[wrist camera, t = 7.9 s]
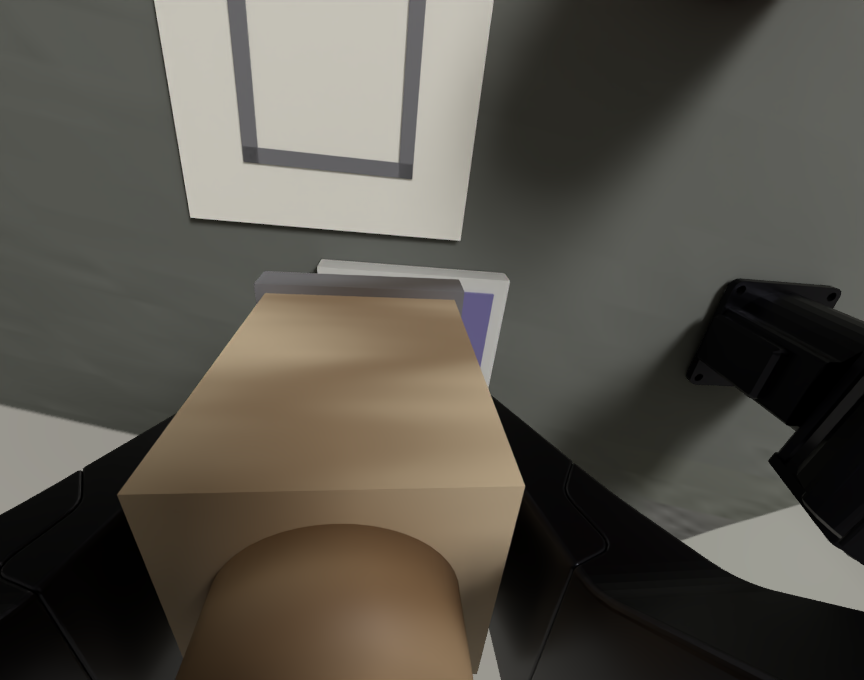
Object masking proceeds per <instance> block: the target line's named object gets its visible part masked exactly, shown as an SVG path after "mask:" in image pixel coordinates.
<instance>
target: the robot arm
mask: <svg viewBox="0 0 864 680" xmlns="http://www.w3.org/2000/svg"><path fill="white" fill-rule="evenodd" d="M739 287H740V288H739ZM738 288H739V290H738V291H737V289H738ZM840 296H841V291H840V289H837V288H835V287H832V286H826V285H814V284H801V283H789V282H777V281H764V280H752V279H735V280H733V281H732V282H731V283H730V284H729V285H728V287H727V289H726V291H725V293H724V295H723V297H722V299H721V301H720V303H719V306H718V308H717V310H716V312H715V314H714V316H713V318H712V321H711V323H710V325H709V327H708V329H707V331H706V333H705V335H704V338H703V340H702V342H701V344H700V346H699V348H698V350H697V352H696V355H695V357H694V359H693V361H692V363H691V365H690V367H689V370H688V372H687V374H686V378H687V379H688V380H689V381H690V382H691V383H692V384H696V385H719V386H735V387H736V388H737V389H739V390H740V391H741V392H743V393H744V394H745V395H746V396H748V397H749V398H751V399H753V400H754V401H756V402H757V403H758V404H760V405H761V406H762V407H764V408H765V409H766V410H768V411H769V412H770V413H771V414H773V415H774V416H775V417H777V418H778V419H779V420H781V421H782V422H783V423H785V424H786V425H788V426H790V427H791V428H792V429H794V430H795V431H796V432H795V433H794V434H793V435H792V436H791V437H790V439H789V440H788V441H787V442H786V443H785V445H784V446H783V447H782V448H781V449H780V451H779V452H775V453H774V454H773V455H772V457H771V458H770V459H769V460H768V462H769V463H770V464H771V466H772V467H773V468H774V470H775V471H776V472H777V474H778V475H779V476H780V478H781V479H782V481H783V482H784V483H785V484H786V486H787V487H788V488H789V490H790V491H791V492H792V494H793V495H794V496H795V497H796V499H797V500H798V501H799V503H800V504H801V505H802V507H803V508H804V509H805V511H806V512H807V513H808V514H809V516H810V517H811V519H812V520H813V521H814V523H815V524H816V525H817V526H818V527H819V529H820V530H821V531H822V533H823V534H824V535H825V537H826V538H827V539H828V540H829V541H830V543H832V544H833V545H834V546H836V547H837V548H839V549H841V550H843V551H844V552H845V553H846V554H847V555H848V556H850V557H851V558H853V559H855V560H857V561H858V562H860V563H861V564H863V565H864V321H862V320H859V319H857V318H854V317H852V316H849V315H847V314H845V313H842V312H840V311H837V310H835V309H833V308H834V306H835V304H836V303H837V301H838V299H839V298H840ZM696 375H697V376H696ZM695 376H696V377H695ZM491 397H492V400H493V403H494V405H495V408H496V410H497V413H498V416H499V418H500V421H501V424H502V426H503V429H504V432H505V434H506V437H507V439H508V442H509V445H510V447H511V450H512V453H513V455H514V458H515V461H516V463H517V466H518V468H519V471H520V474H521V476H522V479H523V482H524V484H525V489H524V493H523V497H522V501H521V505H520V508H519V512H518V516H517V520H516V524H515V528H514V532H513V536H512V540H511V543H510V547H509V551H508V555H507V559H506V563H505V567H504V571H503V574H502V578H501V582H500V586H499V590H498V594H497V598H496V602H495V605H494V609H493V613H492V617H491V621H490V625H489V630H490V634H491V638H492V643H493V647H494V652H495V655H496V660H497V664H498V669H499V673H500V677H501V680H864V612H863V611H859V610H855V609H850V608H846V607H842V606H837V605H833V604H829V603H825V602H821V601H816V600H812V599H808V598H803V597H799V596H795V595H790V594H786V593H782V592H778V591H774V590H770V589H767V588H763V587H761V586H758V585H755V584H752V583H750V582H747V581H745V580H743V579H741V578H738V577H736V576H734V575H732V574H730V573H729V572H727V571H725V570H723V569H721V568H720V567H718V566H717V565H715V564H714V563H712V562H710V561H709V560H708V559H706V558H705V557H703V556H701V555H700V554H699V553H697V552H696V551H695V550H693V549H692V548H690V547H689V546H687V545H686V544H684V543H683V542H682V541H680V540H679V539H677V538H676V537H674V536H673V535H671V534H670V533H669V532H667V531H666V530H664V529H663V528H661V527H660V526H658V525H657V524H656V523H654V522H653V521H651V520H650V519H648V518H647V517H645V516H644V515H643V514H641V513H640V512H638V511H637V510H635V509H634V508H633V507H631V506H630V505H629V504H627V503H626V502H624V501H623V500H622V499H620V498H619V497H617V496H616V495H615V494H613V493H612V492H611V491H609V490H608V489H607V488H605V487H604V486H603V485H602V484H600V483H599V482H598V481H596V480H595V479H594V478H593V477H591V476H590V475H589V474H588V473H586V472H585V471H584V470H583V469H581V468H580V467H579V466H578V465H576V464H575V463H573V464H572V461H571V460H570V459H569V458H568V457H566V456H565V455H564V454H563V453H562V452H560V451H559V450H558V449H557V448H555V447H554V446H553V445H552V444H551V443H549V442H548V441H547V440H546V439H544V438H543V437H542V436H541V435H540V434H538V433H537V432H536V431H535V430H533V429H532V428H531V427H530V426H528V425H527V424H526V423H525V422H524V421H522V420H521V419H520V418H519V417H517V416H516V415H515V414H514V413H513V412H511V411H510V410H509V409H508V408H506V407H505V406H504V405H503V404H501V403H500V402H499V401H498V400H497V399H495V398H494V397H493V396H492V395H491ZM176 414H177V413H176ZM176 414H174V415H173V416H171V417H169V418H168V419H166V420H164V421H162V422H161V423H159V424H157V425H156V426H154V427H152V428H150V429H149V430H147V431H145V432H144V433H142V434H140V435H139V436H137V437H135V438H134V439H132V440H130V441H128V442H127V443H125V444H123V445H121V446H120V447H118V448H116V449H115V450H113V451H111V452H110V453H108V454H106V455H104V456H103V457H101V458H99V459H98V460H96V461H94V462H92V463H91V464H89V465H87V466H86V467H84V468H83V471H77V472H75V473H74V474H72V475H70V476H68V477H67V478H65V479H63V480H62V481H60V482H58V483H56V484H55V485H53V486H51V487H50V488H48V489H46V490H44V491H42V492H41V493H39V494H37V495H36V496H34V497H32V498H30V499H28V500H27V501H25V502H23V503H21V504H19V505H18V506H16V507H14V508H12V509H10V510H8V511H6V512H5V513H3V514H1V515H0V680H175V678H176V676H177V673H178V671H179V668H180V665H181V663H182V660H183V656H182V654H181V652H180V649H179V647H178V644H177V642H176V639H175V637H174V634H173V632H172V629H171V627H170V624H169V622H168V619H167V617H166V615H165V612H164V610H163V607H162V605H161V602H160V600H159V597H158V595H157V592H156V590H155V587H154V585H153V582H152V580H151V578H150V575H149V573H148V570H147V568H146V565H145V563H144V560H143V558H142V555H141V553H140V550H139V548H138V545H137V543H136V541H135V538H134V536H133V533H132V531H131V528H130V526H129V523H128V521H127V518H126V516H125V513H124V511H123V508H122V506H121V504H120V501H119V499H118V496H117V494H118V493H119V491H120V490H121V489H122V487H123V486H124V485H125V483H126V482H127V481H128V479H129V478H130V476H131V475H132V474H133V472H134V471H135V470H136V468H137V467H138V466H139V464H140V463H141V461H142V460H143V459H144V457H145V456H146V455H147V453H148V452H149V451H150V449H151V448H152V446H153V445H154V444H155V442H156V441H157V440H158V438H159V437H160V436H161V434H162V433H163V431H164V430H165V429H166V427H167V426H168V425H169V423H170V422H171V421H172V419H173V418H174V416H175V415H176Z"/></svg>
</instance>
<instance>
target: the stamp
mask: <svg viewBox="0 0 864 680" xmlns="http://www.w3.org/2000/svg"><path fill="white" fill-rule="evenodd" d="M254 289H255V297H256V304H257V305H256V306H255V307H254V309H253V310H252V312H251V313H250V314H249V316H248V317H247V318H246V320H245V321H244V322H243V324H242V325H241V327H240V328H239V329H238V331H237V332H236V333H235V335H234V336H233V337H232V339H231V340H230V342H229V343H228V344H227V346H226V347H225V348H224V350H223V351H222V352H221V354H220V355H219V357H218V358H217V359H216V361H215V362H214V363H213V365H212V366H211V367H210V369H209V370H208V372H207V373H206V374H205V376H204V377H203V378H202V380H201V381H200V382H199V384H198V385H197V387H196V388H195V389H194V391H193V392H192V393H191V395H190V396H189V397H188V399H187V400H186V402H185V403H184V404H183V406H182V407H181V408H180V410H179V411H178V412H177V414H176V415H175V416H174V418H173V419H172V421H171V422H170V423H169V425H168V426H167V427H166V429H165V430H164V431H163V433H162V434H161V436H160V437H159V438H158V440H157V441H156V442H155V444H154V445H153V446H152V448H151V449H150V451H149V452H148V453H147V455H146V456H145V457H144V459H143V460H142V461H141V463H140V464H139V466H138V467H137V468H136V470H135V471H134V472H133V474H132V475H131V476H130V478H129V479H128V481H127V482H126V483H125V485H124V486H123V487H122V489H121V490H120V491H119V493H118V494H117V496H118V499H119V501H120V504H121V506H122V508H123V511H124V513H125V516H126V518H127V521H128V523H129V526H130V528H131V531H132V533H133V536H134V538H135V541H136V543H137V545H138V548H139V550H140V553H141V555H142V558H143V560H144V563H145V565H146V568H147V570H148V573H149V575H150V578H151V580H152V582H153V585H154V587H155V590H156V592H157V595H158V597H159V600H160V602H161V605H162V607H163V610H164V612H165V615H166V617H167V619H168V622H169V624H170V627H171V629H172V632H173V634H174V637H175V639H176V642H177V644H178V647H179V649H180V652H181V654H182V656H183V660H182V663H181V665H180V668H179V671H178V673H177V676H176V678H175V680H473V675H472V674H477V671H478V668H479V664H480V660H481V656H482V652H483V648H484V644H485V640H486V637H487V632H488V628H489V625H490V621H491V617H492V613H493V609H494V605H495V602H496V598H497V594H498V590H499V586H500V582H501V578H502V574H503V571H504V567H505V563H506V559H507V555H508V551H509V547H510V543H511V540H512V536H513V532H514V528H515V524H516V520H517V516H518V512H519V508H520V505H521V501H522V497H523V493H524V489H525V484H524V482H523V479H522V476H521V474H520V471H519V468H518V466H517V463H516V461H515V458H514V455H513V453H512V450H511V447H510V445H509V442H508V439H507V437H506V434H505V432H504V429H503V426H502V424H501V421H500V418H499V416H498V413H497V410H496V408H495V405H494V403H493V400H492V397H491V395H490V392H489V389H488V387H487V384H486V381H485V379H484V376H483V374H482V371H481V368H480V366H479V363H478V360H477V358H476V355H475V352H474V350H473V347H472V345H471V342H470V339H469V337H468V334H467V331H466V329H465V326H464V323H463V321H462V318H461V317H462V309H463V300H464V289H463V287H462V285H461V283H460V281H459V279H437V278H413V277H390V276H366V275H342V274H318V273H295V272H271V271H264V272H263V273H262V275H261V276H260V277H259V278H258V279H257V280H256V282H255V283H254Z"/></svg>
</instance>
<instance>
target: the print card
mask: <svg viewBox="0 0 864 680" xmlns="http://www.w3.org/2000/svg"><path fill="white" fill-rule="evenodd" d="M493 2H494V0H154V3H155V9H156V15H157V21H158V27H159V33H160V39H161V45H162V51H163V57H164V63H165V69H166V75H167V81H168V87H169V93H170V99H171V105H172V111H173V117H174V123H175V128H176V134H177V140H178V146H179V152H180V158H181V164H182V170H183V176H184V182H185V188H186V194H187V200H188V206H189V212H190V218H200V219H211V220H223V221H235V222H246V223H258V224H270V225H282V226H293V227H305V228H317V229H328V230H340V231H352V232H363V233H375V234H387V235H398V236H410V237H422V238H433V239H445V240H457V241H460V240H461V233H462V226H463V218H464V211H465V204H466V197H467V190H468V182H469V175H470V168H471V161H472V153H473V146H474V139H475V132H476V125H477V117H478V110H479V103H480V96H481V88H482V81H483V74H484V67H485V59H486V52H487V45H488V38H489V31H490V23H491V16H492V9H493Z"/></svg>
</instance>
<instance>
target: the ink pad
mask: <svg viewBox="0 0 864 680" xmlns="http://www.w3.org/2000/svg"><path fill="white" fill-rule="evenodd" d="M317 273H318V274H342V275H366V276H390V277H413V278H437V279H459V281H460V283H461V285H462V287H463V289H464V300H463V309H462V317H461V318H462V321H463V323H464V326H465V329H466V331H467V334H468V337H469V339H470V342H471V345H472V347H473V350H474V352H475V355H476V358H477V360H478V363H479V366H480V368H481V371H482V374H483V376H484V379H485V381H486V384H487V387H489V382H490V377H491V372H492V367H493V362H494V357H495V353H496V348H497V343H498V338H499V333H500V328H501V323H502V318H503V314H504V309H505V304H506V299H507V294H508V289H509V284H510V280H509V279H508V278H507V276H506V275H505V274H504V273H497V272H484V271H471V270H458V269H445V268H431V267H418V266H405V265H392V264H379V263H366V262H353V261H340V260H327V259H321V261H320V263H319V264H318V266H317Z"/></svg>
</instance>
